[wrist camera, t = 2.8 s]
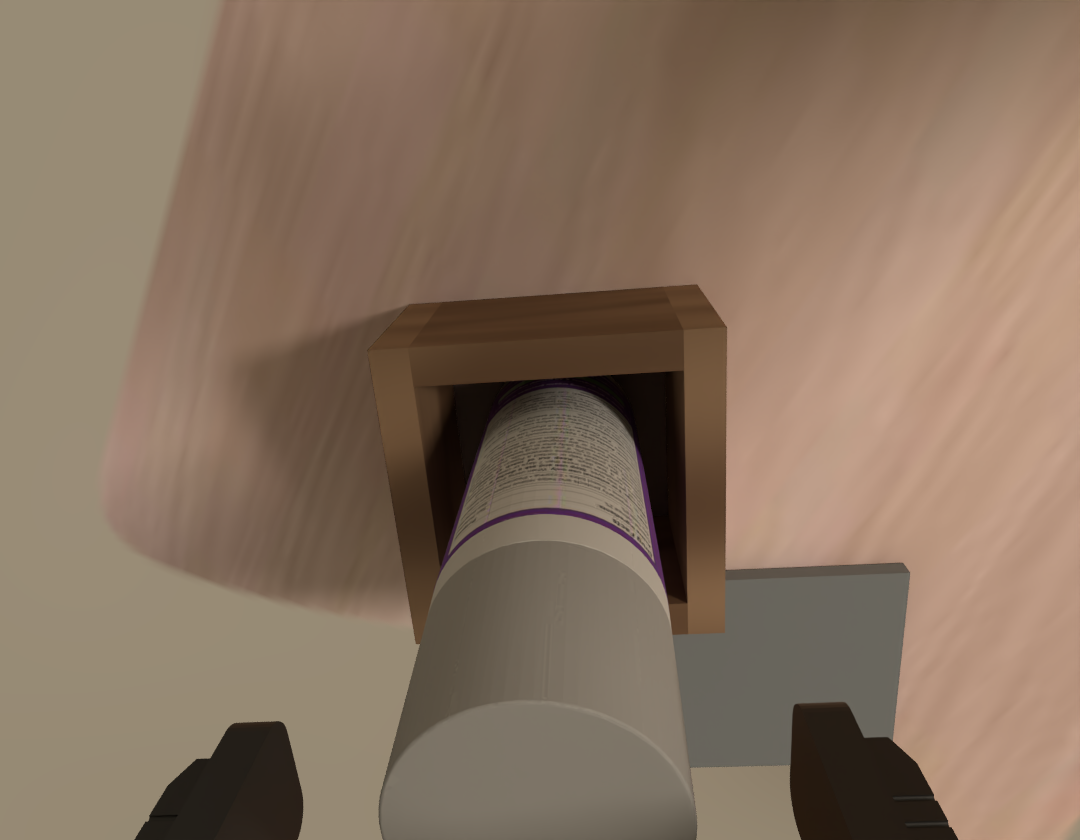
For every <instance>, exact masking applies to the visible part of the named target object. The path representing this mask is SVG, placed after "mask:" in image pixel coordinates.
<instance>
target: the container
mask: <svg viewBox="0 0 1080 840" xmlns="http://www.w3.org/2000/svg"><path fill="white" fill-rule="evenodd" d="M379 824H380V829H381V834H382V838H383V840H696V836H697V815H696V808H695V801H694V793H693V785H692V779H691V770H690V763H689V755H688V748H687V741H686V733H685V726H684V718H683V711H682V703H681V696H680V689H679V681H678V674H677V666H676V659H675V651H674V644H673V637H672V629H671V621H670V613H669V605H668V599H667V593H666V588H665V582H664V577H663V571H662V566H661V560H660V555H659V549H658V544H657V538H656V533H655V527H654V522H653V516H652V511H651V505H650V500H649V494H648V489H647V483H646V478H645V472H644V467H643V461H642V456H641V450H640V445H639V439H638V434H637V428H636V423H635V418H634V414H633V410H632V407H631V404H630V402H629V399H628V398H627V396H626V394H625V392H624V391H623V389H622V388H621V387H620V385H619V384H618V383H617V382H616V381H615V380H614V379H613V378H612V377H611V376H610V375H602V376H586V377H569V378H553V379H537V380H520V381H507V382H506V383H505V384H504V385H503V386H502V388H501V389H500V391H499V392H498V394H497V396H496V397H495V400H494V402H493V404H492V407H491V410H490V413H489V416H488V419H487V422H486V425H485V429H484V432H483V435H482V438H481V441H480V444H479V448H478V451H477V454H476V457H475V460H474V464H473V467H472V470H471V473H470V476H469V479H468V483H467V486H466V489H465V492H464V495H463V498H462V502H461V505H460V508H459V511H458V514H457V518H456V521H455V524H454V527H453V530H452V533H451V537H450V540H449V543H448V546H447V549H446V553H445V556H444V559H443V562H442V565H441V568H440V572H439V575H438V578H437V581H436V584H435V588H434V592H433V597H432V600H431V604H430V608H429V612H428V616H427V620H426V623H425V627H424V631H423V635H422V639H421V642H420V646H419V650H418V654H417V657H416V661H415V665H414V669H413V673H412V676H411V680H410V684H409V688H408V692H407V695H406V699H405V703H404V707H403V711H402V714H401V718H400V722H399V726H398V729H397V734H396V737H395V741H394V745H393V748H392V752H391V756H390V760H389V763H388V767H387V771H386V775H385V779H384V782H383V787H382V790H381V795H380V801H379Z"/></svg>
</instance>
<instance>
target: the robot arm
mask: <svg viewBox="0 0 1080 840" xmlns="http://www.w3.org/2000/svg"><path fill="white" fill-rule="evenodd" d="M790 792H791V800H792V806H793V812H794V817H795V821H796V825H797V828H798V831H799V834H800V837H801V840H958V838H957V836H956V835H955V833H954V831H953V829H952V827H949V825H948V820H947V818H946V816H945V814H944V812H943V811H942V809H941V807H940V805H939V803H938V801H935V799H934V794H933V792H932V790H931V788H930V787H929V785H928V783H927V781H926V779H925V777H924V776H923V774H922V772H921V770H920V768H919V766H918V764H917V763H916V762H915V761H914V760H913V759H912V758H911V757H909V756H908V755H907V754H906V753H905V752H904V751H903V750H902V749H901V748H900V747H898V746H897V745H896V744H895V743H894V742H893V741H892V740H891V739H890V738H889V737H870V738H864V736H863V734H862V732H861V730H860V728H859V726H858V724H857V722H856V719H855V717H854V715H853V713H852V711H851V709H850V707H849V706H848V704H847V703H845V702H824V703H798V704H795V705H794V707H793V714H792V738H791V764H790ZM149 816H150V818H149V821H148V822H145V824H144V825H143V827H142V828H141V830H140V832H139V833H138V835H137V836H136V839H135V840H297V839H298V837H299V833H300V829H301V824H302V818H303V796H302V790H301V786H300V782H299V778H298V774H297V770H296V765H295V761H294V758H293V753H292V749H291V745H290V741H289V737H288V733H287V730H286V727H285V725H284V724H283V723H282V722H279V721H276V722H250V723H234V724H232V725H231V726H230V727H229V728H228V729H227V731H226V732H225V734H224V736H223V737H222V739H221V741H220V743H219V744H218V746H217V748H216V750H215V751H214V753H213V755H212V757H211V758H210V759H196V760H195V761H194V762H193V763H192V764H191V765H190V766H189V767H187V769H186V770H184V771H183V772H182V773H181V774H180V775H179V776H178V777H177V778H176V779H175V780H173V781H172V782H171V783H170V784H169V785H168V786H167V788H166V789H165V791H164V793H163V795H162V796H161V798H160V799H159V801H158V802H157V804H156V806H155V807H154V809H153V811H152V812H151V814H150V815H149Z"/></svg>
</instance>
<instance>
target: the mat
mask: <svg viewBox="0 0 1080 840" xmlns="http://www.w3.org/2000/svg"><path fill="white" fill-rule="evenodd" d="M909 579H910V572H909V571H908V569H907V568H906V566H905V565H904V564H903V563H891V564H867V565H843V566H819V567H796V568H772V569H748V570H725V633H710V634H682V635H672V637H673V644H674V651H675V659H676V666H677V674H678V681H679V689H680V696H681V703H682V711H683V718H684V726H685V733H686V741H687V748H688V755H689V763H690V768H691V767H732V766H777V765H790V764H791V738H792V714H793V707H794V705H795V704H798V703H824V702H845V703H847V704H848V706H849V707H850V709H851V711H852V713H853V715H854V717H855V719H856V722H857V724H858V726H859V728H860V730H861V732H862V734H863V736H864V738H870V737H889V738H890V739H891V740H892V741H893V733H894V723H895V713H896V704H897V694H898V685H899V675H900V665H901V656H902V646H903V637H904V627H905V618H906V608H907V598H908V589H909Z"/></svg>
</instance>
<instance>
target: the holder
mask: <svg viewBox="0 0 1080 840" xmlns="http://www.w3.org/2000/svg"><path fill="white" fill-rule="evenodd" d="M367 352H368V358H369V364H370V370H371V376H372V382H373V388H374V394H375V400H376V406H377V412H378V418H379V424H380V430H381V436H382V442H383V448H384V454H385V460H386V467H387V473H388V479H389V485H390V491H391V497H392V503H393V509H394V515H395V521H396V527H397V533H398V539H399V545H400V551H401V557H402V563H403V569H404V575H405V581H406V587H407V593H408V599H409V605H410V611H411V617H412V623H413V629H414V635H415V641H416V644H420V642H421V639H422V635H423V631H424V627H425V623H426V620H427V616H428V612H429V608H430V604H431V600H432V597H433V592H434V588H435V584H436V581H437V578H438V575H439V572H440V568H441V565H442V562H443V559H444V556H445V553H446V549H447V546H448V543H449V540H450V537H451V533H452V530H453V527H454V524H455V521H456V518H457V514H458V511H459V508H460V505H461V502H462V498H463V495H464V492H465V489H466V485H465V477H464V469H463V461H462V453H461V446H460V438H459V430H458V422H457V414H456V406H455V398H454V390H453V385H455V384H471V383H488V382H504V381H520V380H537V379H553V378H569V377H586V376H602V375H618V374H635V373H651V372H665V397H666V439H667V481H668V515H666V516H653V522H654V527H655V533H656V538H657V544H658V549H659V555H660V560H661V566H662V571H663V577H664V582H665V588H666V593H667V599H668V605H669V613H670V621H671V629H672V635H682V634H710V633H725V543H726V365H727V327H726V325H725V324H724V322H723V321H722V320H721V318H720V317H719V315H718V314H717V312H716V311H715V310H714V308H713V307H712V305H711V304H710V302H709V301H708V300H707V298H706V297H705V295H704V294H703V292H702V291H701V290H700V288H699V287H698V285H684V286H670V287H656V288H641V289H627V290H612V291H598V292H584V293H569V294H555V295H540V296H526V297H512V298H497V299H483V300H468V301H454V302H440V303H425V304H411V305H409V306H408V307H407V308H406V309H405V310H404V311H403V312H402V313H401V315H400V316H399V317H398V318H397V319H396V320H395V321H394V322H393V323H392V324H391V325H390V326H389V328H388V329H387V330H386V331H385V332H384V333H383V334H382V335H381V336H380V337H379V338H378V339H377V341H376V342H375V343H374V344H373V345H372V346H371V347H370V348H369V349H368V350H367Z"/></svg>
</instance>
